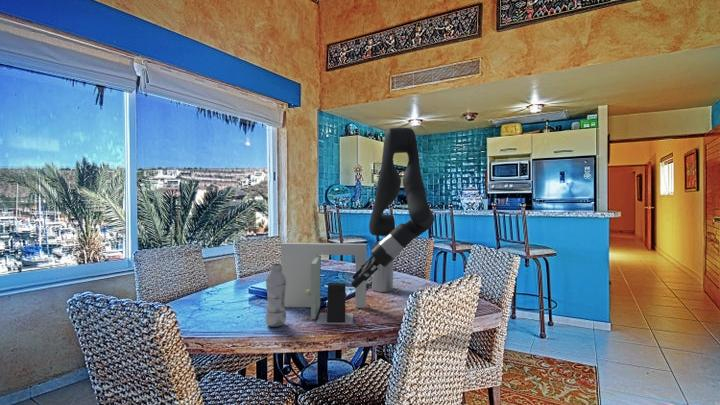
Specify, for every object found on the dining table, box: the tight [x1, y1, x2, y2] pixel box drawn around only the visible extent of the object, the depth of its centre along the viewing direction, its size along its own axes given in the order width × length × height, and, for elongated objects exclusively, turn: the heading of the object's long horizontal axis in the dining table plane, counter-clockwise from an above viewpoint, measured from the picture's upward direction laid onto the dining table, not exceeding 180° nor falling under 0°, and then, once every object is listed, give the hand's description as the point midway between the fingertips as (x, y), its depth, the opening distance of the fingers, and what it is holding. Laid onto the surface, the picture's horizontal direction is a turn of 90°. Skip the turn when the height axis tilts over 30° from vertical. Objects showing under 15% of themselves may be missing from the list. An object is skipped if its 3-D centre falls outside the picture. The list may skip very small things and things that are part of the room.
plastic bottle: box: [264, 263, 287, 328], centre depth 124 cm, size 6×7×20 cm
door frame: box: [280, 242, 368, 325], centre depth 135 cm, size 19×32×24 cm, turn 89°
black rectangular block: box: [326, 282, 346, 322], centre depth 131 cm, size 9×6×12 cm, turn 1°
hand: (353, 282), depth 131 cm, fingers open, 8 cm apart
